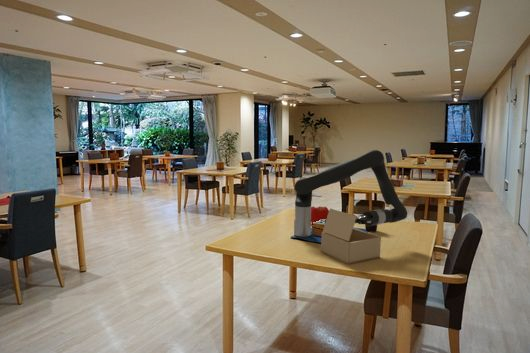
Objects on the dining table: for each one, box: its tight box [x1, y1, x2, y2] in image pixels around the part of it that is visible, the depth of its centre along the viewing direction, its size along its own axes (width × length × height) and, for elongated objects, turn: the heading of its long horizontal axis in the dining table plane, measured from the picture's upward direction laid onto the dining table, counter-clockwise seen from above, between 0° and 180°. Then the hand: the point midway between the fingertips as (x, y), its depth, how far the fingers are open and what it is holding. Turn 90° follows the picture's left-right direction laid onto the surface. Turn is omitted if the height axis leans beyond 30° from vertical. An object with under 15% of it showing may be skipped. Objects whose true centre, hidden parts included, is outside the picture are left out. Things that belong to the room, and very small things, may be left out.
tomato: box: [311, 206, 330, 224], centre depth 252 cm, size 13×14×12 cm
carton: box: [320, 227, 382, 265], centre depth 191 cm, size 20×21×10 cm
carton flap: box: [322, 208, 358, 241], centre depth 186 cm, size 1×19×12 cm, turn 30°
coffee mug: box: [364, 224, 378, 233], centre depth 239 cm, size 12×9×10 cm
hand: (347, 221), depth 189 cm, fingers closed
